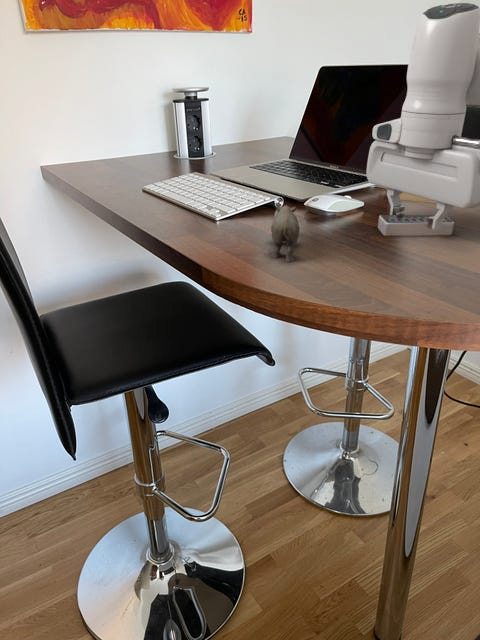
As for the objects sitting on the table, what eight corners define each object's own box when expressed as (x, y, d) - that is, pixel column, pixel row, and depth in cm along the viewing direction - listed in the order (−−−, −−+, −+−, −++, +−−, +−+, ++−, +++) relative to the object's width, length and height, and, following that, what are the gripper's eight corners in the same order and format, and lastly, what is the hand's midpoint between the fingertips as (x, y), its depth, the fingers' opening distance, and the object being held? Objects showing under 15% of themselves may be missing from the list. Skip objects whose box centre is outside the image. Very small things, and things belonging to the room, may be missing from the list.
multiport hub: (376, 228, 83) (378, 214, 82) (441, 227, 83) (444, 214, 82) (384, 237, 79) (386, 223, 78) (452, 236, 80) (455, 222, 78)
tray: (397, 184, 110) (399, 172, 109) (451, 188, 106) (454, 176, 105) (388, 199, 99) (390, 187, 97) (449, 205, 95) (451, 192, 94)
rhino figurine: (297, 232, 82) (299, 195, 79) (298, 264, 70) (301, 222, 67) (272, 231, 82) (273, 195, 79) (269, 263, 70) (270, 222, 67)
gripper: (507, 139, 68) (484, 236, 74) (392, 122, 83) (381, 204, 90) (479, 144, 65) (457, 244, 71) (365, 126, 80) (355, 210, 87)
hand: (414, 222), depth 81 cm, fingers closed on multiport hub, 6 cm apart
